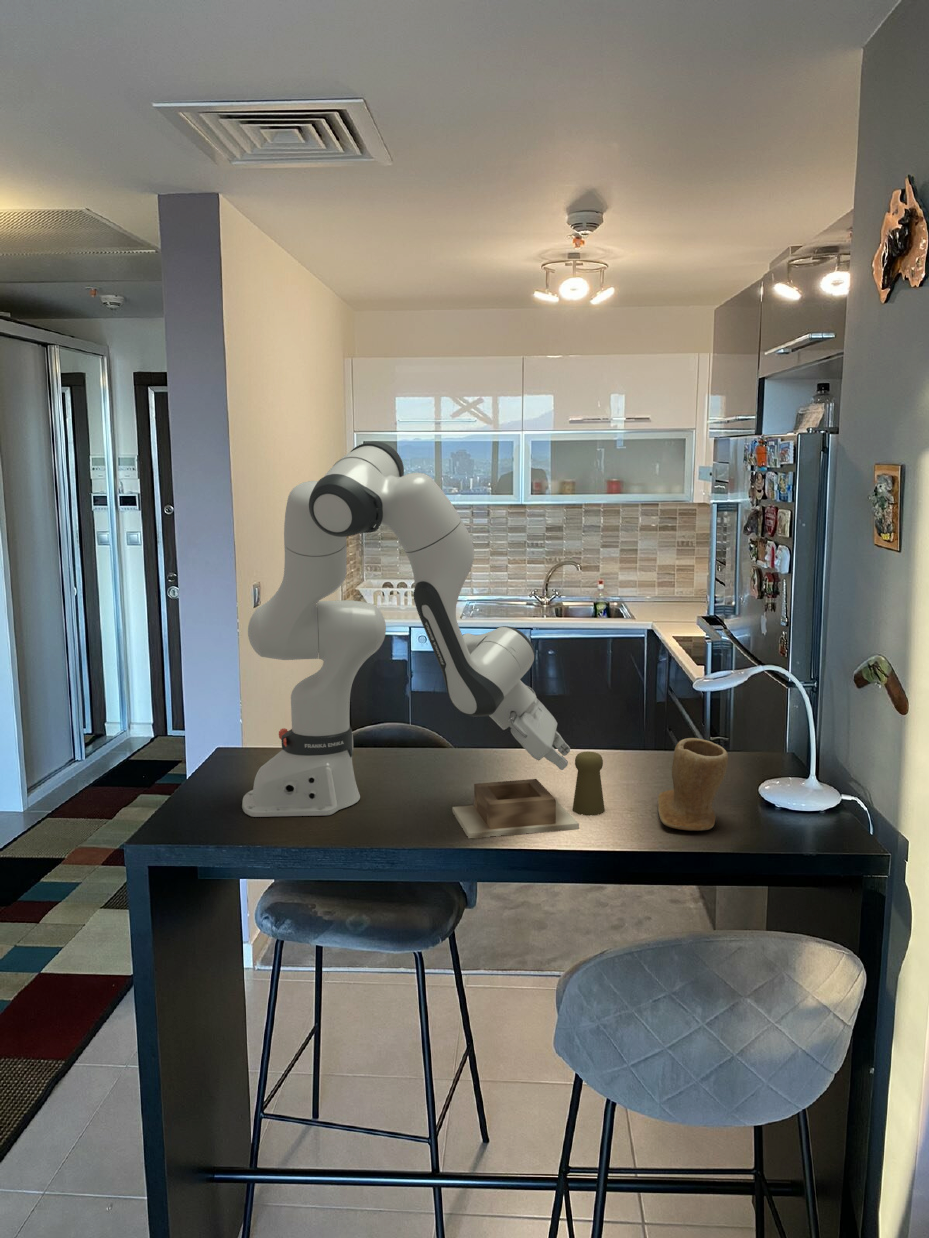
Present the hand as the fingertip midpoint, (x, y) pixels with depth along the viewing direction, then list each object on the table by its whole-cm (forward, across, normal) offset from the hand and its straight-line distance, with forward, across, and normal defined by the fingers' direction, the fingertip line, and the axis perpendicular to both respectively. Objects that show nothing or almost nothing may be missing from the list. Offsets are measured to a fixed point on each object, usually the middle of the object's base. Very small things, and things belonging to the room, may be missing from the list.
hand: (566, 759), depth 179 cm
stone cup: (+23, -2, -9) cm, 25 cm away
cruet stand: (0, -6, +14) cm, 15 cm away
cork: (+10, +1, +4) cm, 11 cm away
